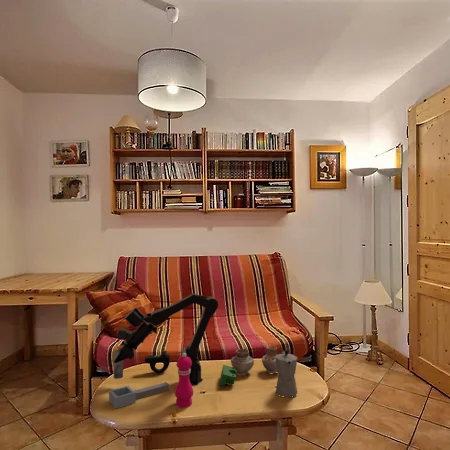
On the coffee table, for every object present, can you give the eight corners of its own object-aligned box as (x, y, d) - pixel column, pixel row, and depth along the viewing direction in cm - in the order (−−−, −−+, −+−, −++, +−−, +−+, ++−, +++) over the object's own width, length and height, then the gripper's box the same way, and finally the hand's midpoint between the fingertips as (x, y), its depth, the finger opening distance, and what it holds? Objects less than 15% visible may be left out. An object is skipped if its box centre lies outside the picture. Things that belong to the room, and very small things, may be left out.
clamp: (231, 395, 156) (235, 380, 153) (218, 392, 156) (222, 377, 153) (233, 375, 167) (237, 360, 164) (221, 372, 167) (225, 357, 164)
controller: (170, 373, 170) (170, 352, 171) (144, 375, 168) (144, 354, 168) (170, 369, 175) (170, 349, 175) (144, 371, 172) (144, 351, 172)
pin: (124, 375, 156) (125, 346, 156) (118, 379, 152) (118, 348, 152) (117, 374, 157) (118, 345, 158) (111, 377, 154) (111, 347, 154)
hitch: (163, 385, 156) (163, 376, 156) (171, 392, 150) (171, 382, 150) (109, 400, 142) (109, 390, 142) (115, 408, 136) (115, 397, 136)
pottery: (284, 376, 167) (284, 350, 167) (232, 378, 164) (232, 352, 165) (278, 367, 178) (278, 343, 178) (229, 369, 176) (229, 345, 176)
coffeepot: (301, 400, 143) (301, 355, 143) (278, 400, 142) (278, 355, 143) (292, 384, 158) (292, 343, 159) (271, 384, 158) (271, 343, 158)
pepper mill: (176, 399, 143) (176, 349, 144) (194, 399, 143) (194, 349, 144) (173, 408, 136) (173, 355, 137) (192, 408, 136) (192, 356, 136)
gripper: (129, 316, 165) (104, 342, 163) (125, 327, 147) (97, 355, 144) (146, 332, 166) (122, 358, 164) (145, 345, 148) (117, 373, 146)
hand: (115, 360), depth 155 cm, fingers closed on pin, 4 cm apart
